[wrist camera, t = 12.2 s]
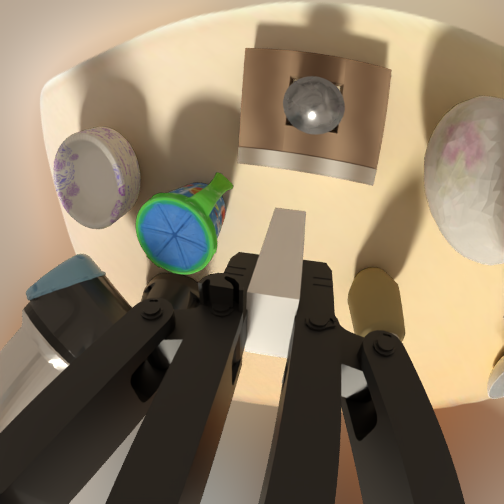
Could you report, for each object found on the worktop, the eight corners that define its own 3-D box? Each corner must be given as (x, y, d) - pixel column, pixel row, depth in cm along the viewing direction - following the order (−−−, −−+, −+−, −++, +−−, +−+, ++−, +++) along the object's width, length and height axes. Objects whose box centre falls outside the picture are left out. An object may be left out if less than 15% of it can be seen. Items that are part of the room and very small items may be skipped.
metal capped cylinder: (290, 121, 31) (280, 129, 22) (294, 82, 28) (285, 72, 19) (332, 128, 30) (340, 139, 21) (337, 88, 27) (347, 82, 18)
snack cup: (193, 256, 45) (166, 295, 36) (150, 209, 42) (113, 239, 34) (266, 203, 37) (249, 237, 29) (215, 144, 35) (182, 161, 26)
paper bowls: (160, 207, 42) (133, 230, 35) (95, 212, 45) (68, 231, 38) (143, 113, 34) (108, 120, 27) (77, 134, 37) (44, 145, 31)
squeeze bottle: (343, 264, 40) (349, 363, 25) (394, 256, 37) (425, 351, 22) (348, 304, 43) (352, 399, 28) (394, 297, 40) (415, 390, 26)
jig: (245, 156, 35) (237, 163, 31) (253, 53, 27) (245, 47, 24) (367, 176, 32) (373, 185, 29) (383, 72, 25) (391, 69, 21)
